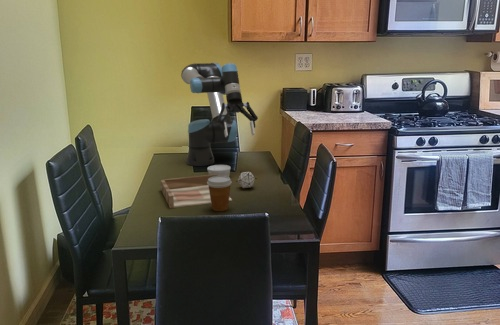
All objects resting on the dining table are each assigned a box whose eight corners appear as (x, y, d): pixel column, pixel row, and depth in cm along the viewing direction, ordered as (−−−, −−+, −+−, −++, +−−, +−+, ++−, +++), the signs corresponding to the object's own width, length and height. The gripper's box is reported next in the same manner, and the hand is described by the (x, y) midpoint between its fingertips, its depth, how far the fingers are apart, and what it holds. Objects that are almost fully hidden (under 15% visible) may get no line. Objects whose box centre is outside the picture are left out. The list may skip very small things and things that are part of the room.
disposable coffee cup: (203, 209, 177) (201, 180, 174) (218, 202, 184) (217, 174, 181) (222, 214, 172) (221, 184, 169) (237, 207, 179) (236, 177, 176)
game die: (249, 197, 202) (253, 183, 195) (232, 189, 203) (235, 176, 196) (256, 183, 208) (260, 169, 201) (239, 176, 209) (243, 162, 201)
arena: (161, 190, 201) (160, 179, 200) (216, 184, 209) (216, 174, 208) (170, 208, 179) (169, 196, 177) (232, 200, 187) (231, 189, 185)
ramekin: (203, 177, 221) (202, 167, 219) (221, 173, 228) (221, 163, 226) (216, 182, 212) (216, 171, 211) (235, 178, 219) (235, 167, 218)
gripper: (210, 92, 215) (216, 134, 210) (259, 90, 223) (266, 131, 218) (207, 98, 222) (213, 139, 217) (255, 96, 230) (261, 136, 225)
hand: (240, 135), depth 218 cm, fingers open, 13 cm apart
